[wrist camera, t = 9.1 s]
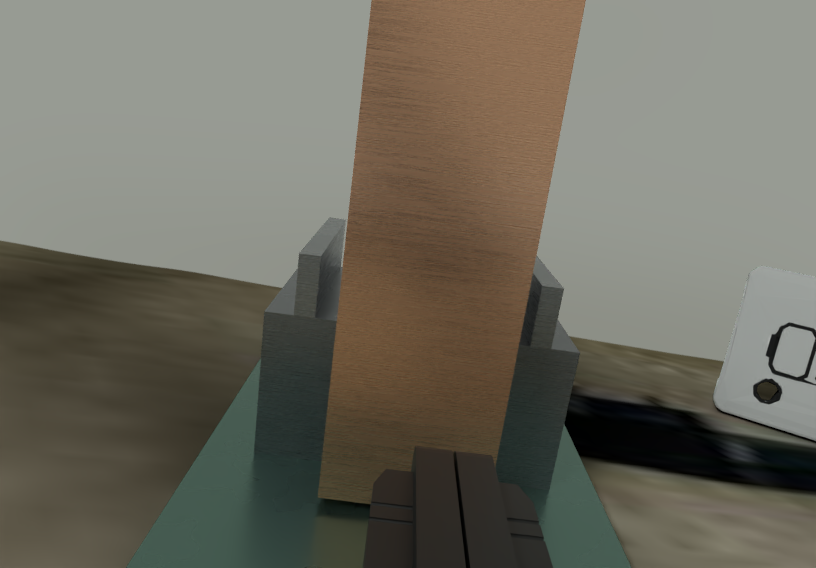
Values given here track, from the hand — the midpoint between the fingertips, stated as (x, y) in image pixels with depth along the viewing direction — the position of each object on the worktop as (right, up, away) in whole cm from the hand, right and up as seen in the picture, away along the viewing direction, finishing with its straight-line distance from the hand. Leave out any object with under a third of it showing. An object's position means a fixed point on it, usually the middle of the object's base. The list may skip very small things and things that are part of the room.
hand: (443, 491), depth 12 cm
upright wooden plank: (-1, -2, +15) cm, 16 cm away
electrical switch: (+23, -5, +26) cm, 35 cm away
